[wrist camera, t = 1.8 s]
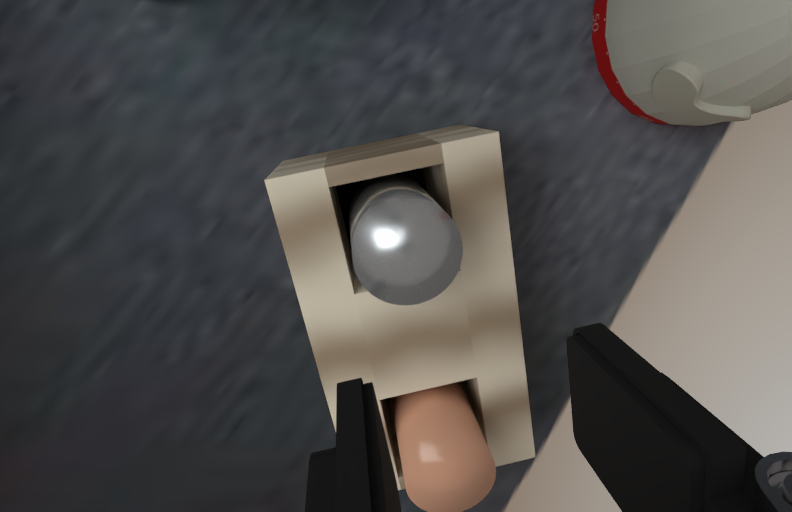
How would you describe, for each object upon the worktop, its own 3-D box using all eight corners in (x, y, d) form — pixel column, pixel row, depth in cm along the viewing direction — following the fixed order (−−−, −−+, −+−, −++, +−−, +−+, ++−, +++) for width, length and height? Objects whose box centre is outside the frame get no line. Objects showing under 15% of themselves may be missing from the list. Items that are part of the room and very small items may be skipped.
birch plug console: (282, 160, 31) (264, 180, 23) (460, 124, 31) (498, 131, 24) (352, 420, 38) (355, 500, 30) (496, 386, 38) (535, 457, 31)
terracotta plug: (384, 373, 31) (397, 452, 24) (456, 356, 32) (490, 430, 25) (397, 432, 33) (413, 523, 26) (466, 416, 33) (501, 502, 26)
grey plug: (340, 183, 27) (340, 212, 20) (424, 165, 27) (454, 188, 20) (358, 263, 29) (365, 315, 22) (437, 245, 29) (469, 292, 22)
